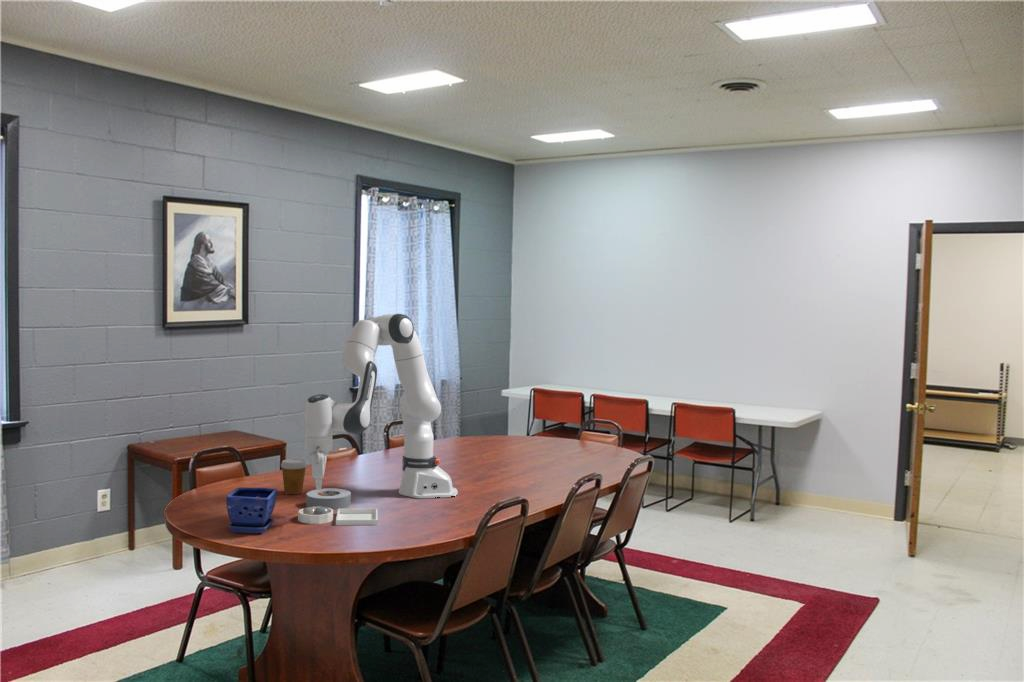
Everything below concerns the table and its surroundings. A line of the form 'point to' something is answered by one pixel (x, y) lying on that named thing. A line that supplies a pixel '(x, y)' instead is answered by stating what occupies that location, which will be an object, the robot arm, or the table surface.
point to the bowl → (315, 517)
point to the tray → (357, 516)
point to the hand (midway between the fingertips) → (319, 485)
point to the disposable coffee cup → (293, 475)
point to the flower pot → (251, 509)
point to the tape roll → (329, 498)
